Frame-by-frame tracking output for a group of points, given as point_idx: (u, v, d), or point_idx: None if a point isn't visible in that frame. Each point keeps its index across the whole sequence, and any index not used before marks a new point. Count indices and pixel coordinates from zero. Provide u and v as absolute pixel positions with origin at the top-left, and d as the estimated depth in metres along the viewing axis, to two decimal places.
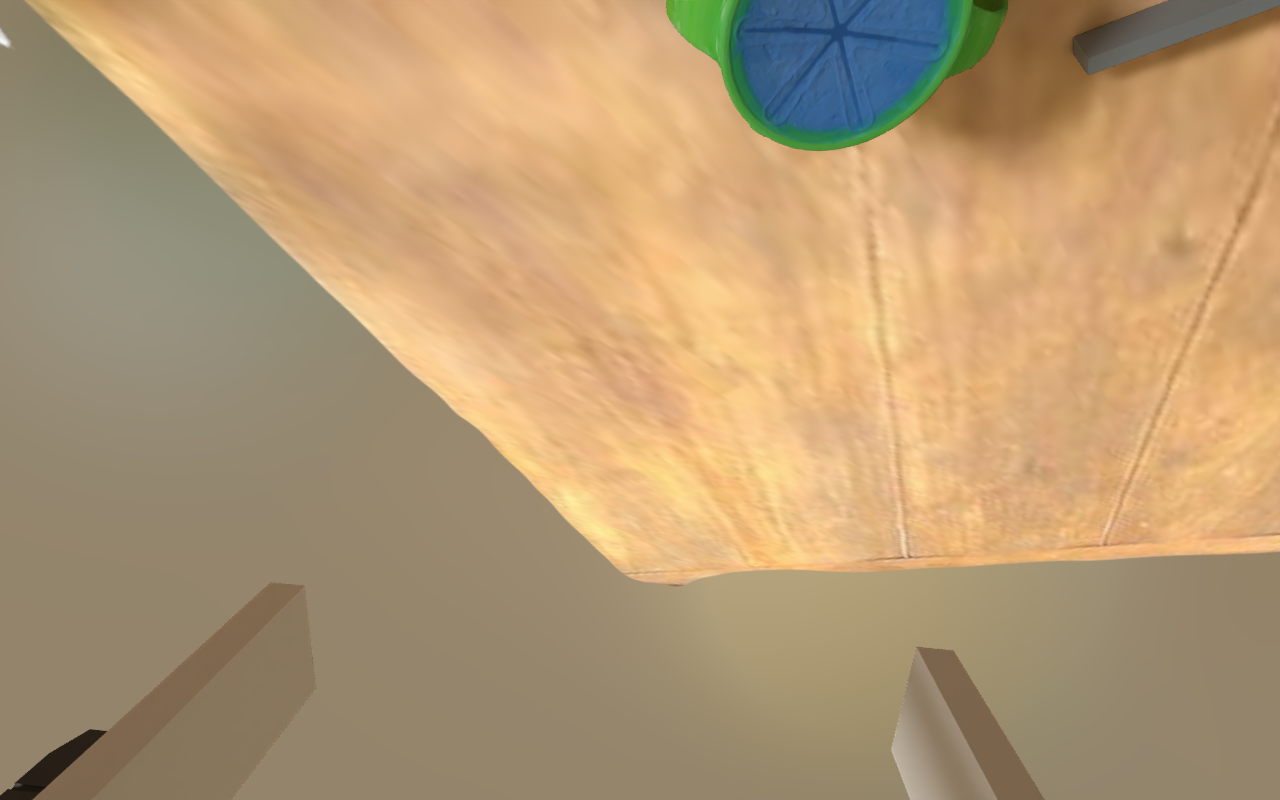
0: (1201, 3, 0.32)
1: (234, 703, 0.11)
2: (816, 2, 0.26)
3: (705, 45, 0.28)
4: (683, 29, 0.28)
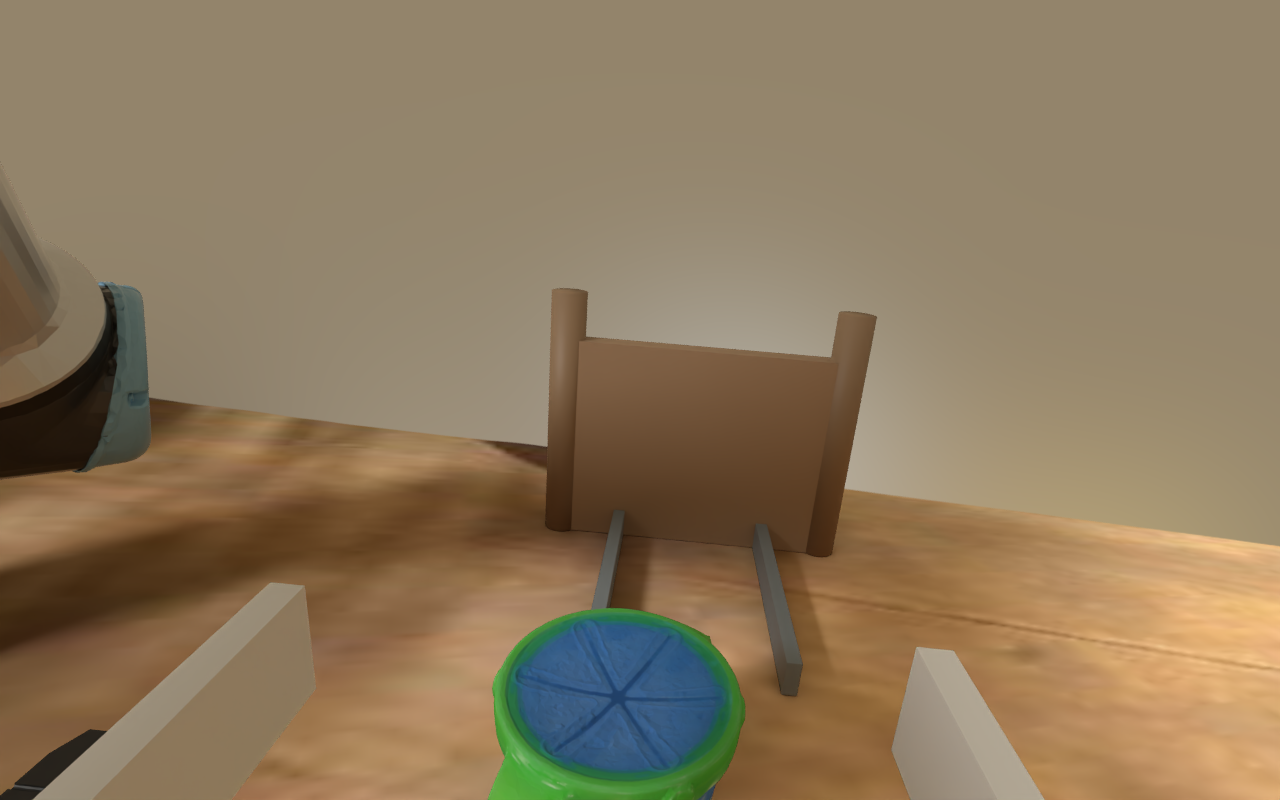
0: (773, 624, 0.45)
1: (234, 703, 0.11)
2: (579, 701, 0.26)
3: None
4: None
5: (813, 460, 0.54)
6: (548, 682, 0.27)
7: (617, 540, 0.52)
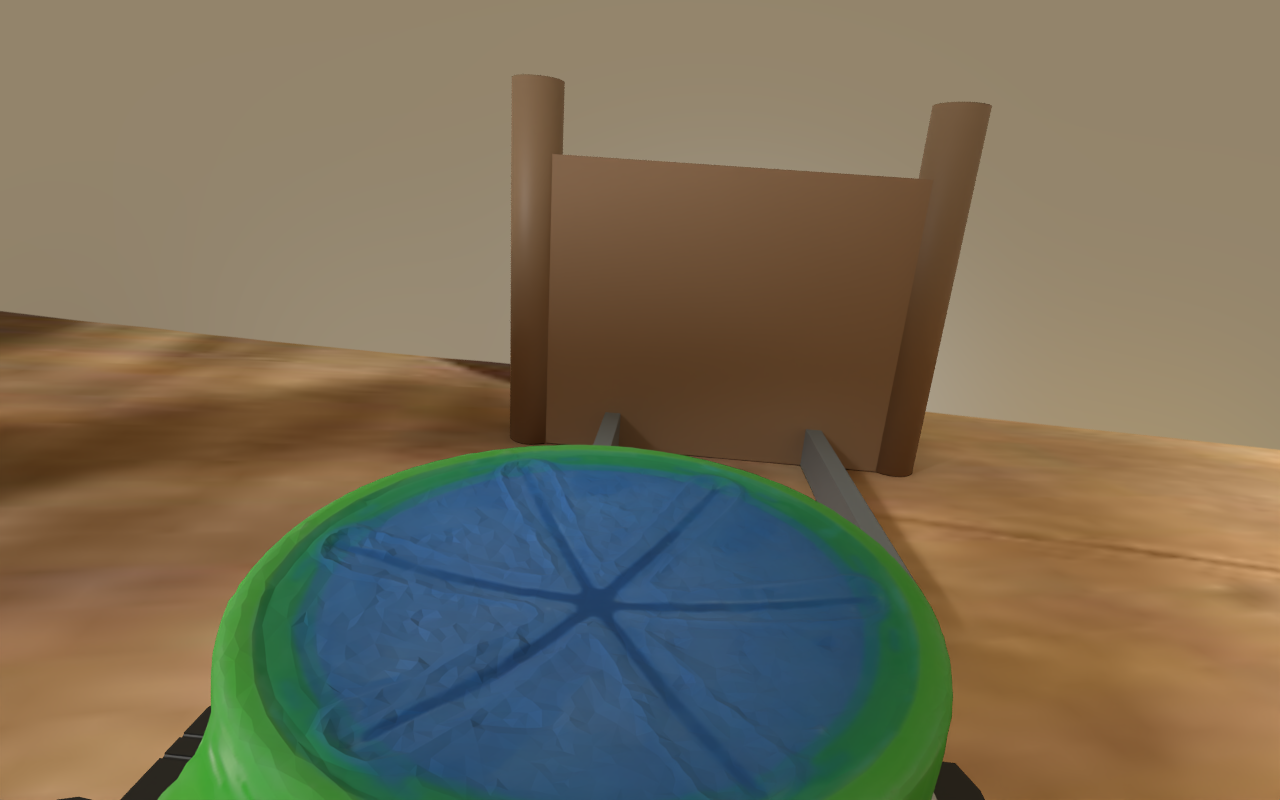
0: None
1: None
2: (489, 608, 0.10)
3: None
4: None
5: (891, 332, 0.38)
6: (413, 566, 0.10)
7: (609, 443, 0.35)
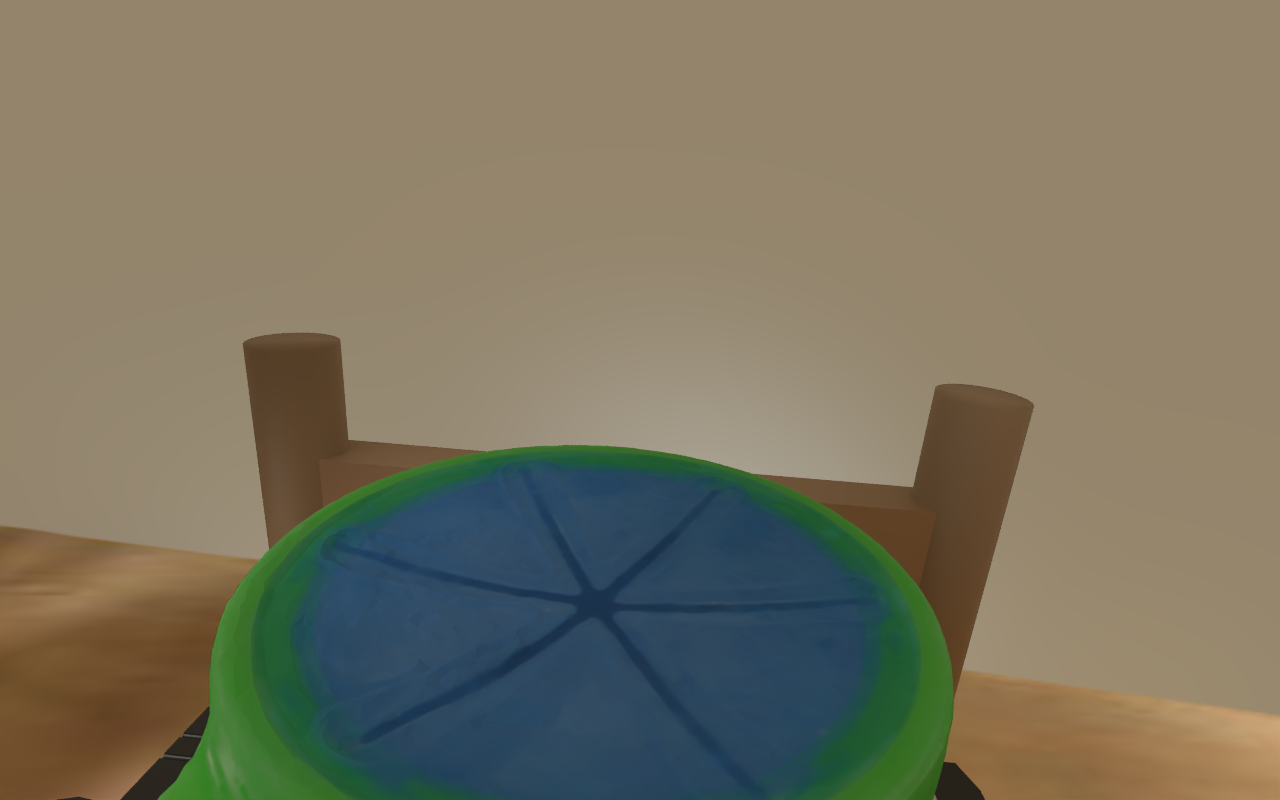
0: None
1: None
2: (489, 608, 0.10)
3: None
4: None
5: None
6: (413, 567, 0.10)
7: None
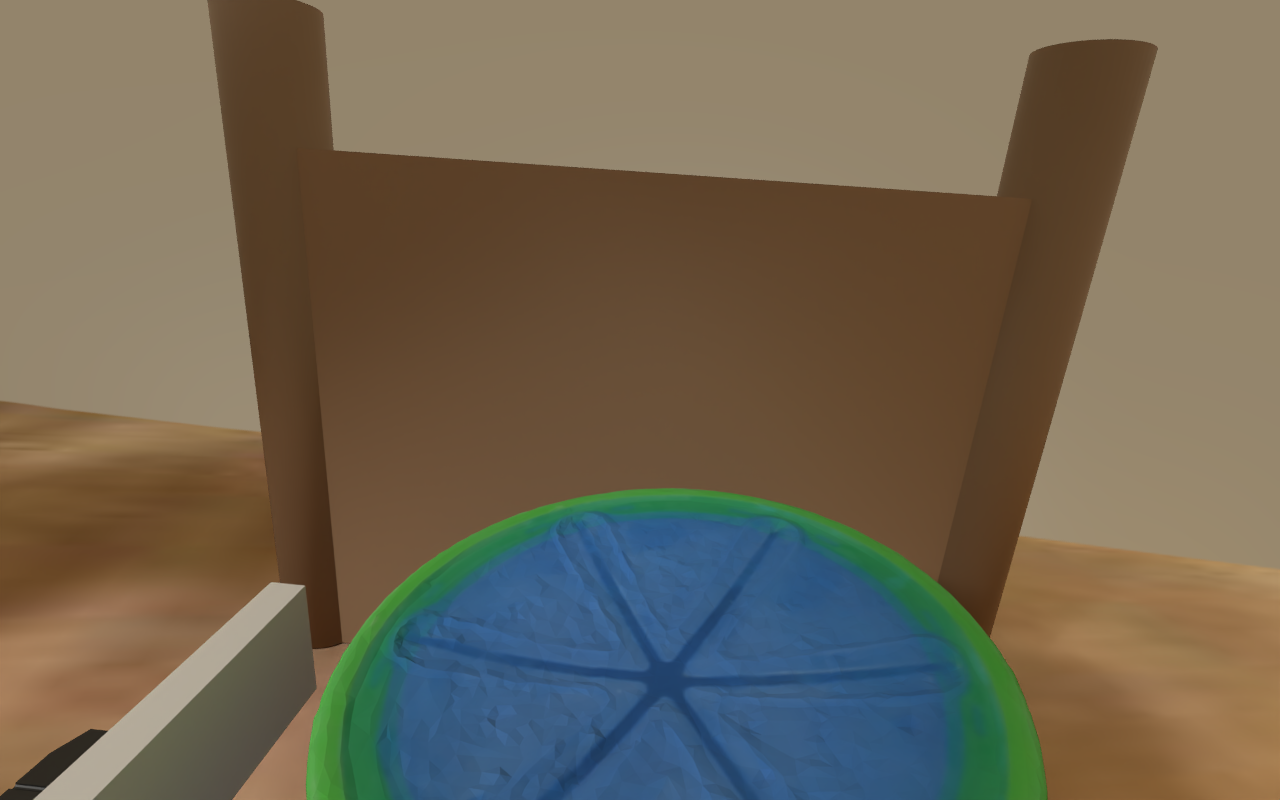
0: None
1: (235, 703, 0.11)
2: (562, 695, 0.10)
3: None
4: None
5: (941, 477, 0.20)
6: (483, 653, 0.10)
7: None
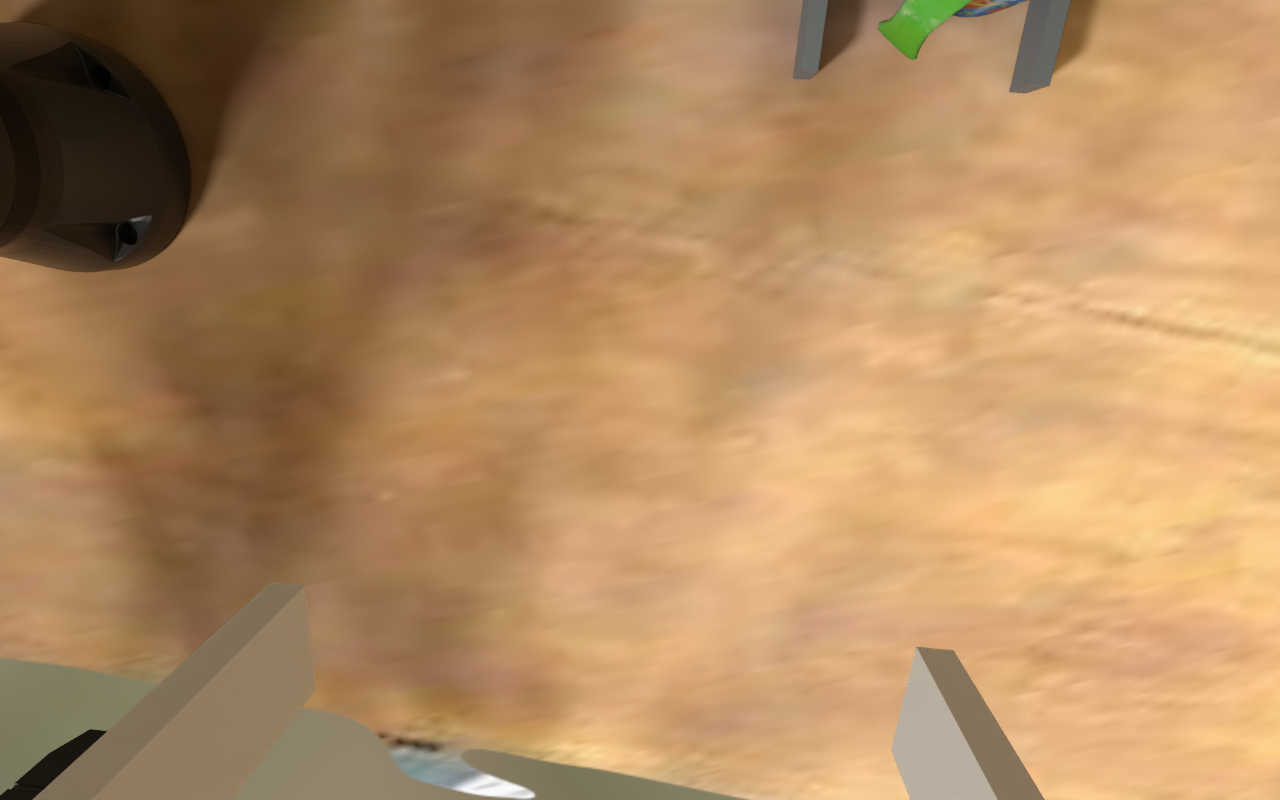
0: None
1: (234, 703, 0.11)
2: None
3: None
4: (940, 14, 0.29)
5: None
6: None
7: None
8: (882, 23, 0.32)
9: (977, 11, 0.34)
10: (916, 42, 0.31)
